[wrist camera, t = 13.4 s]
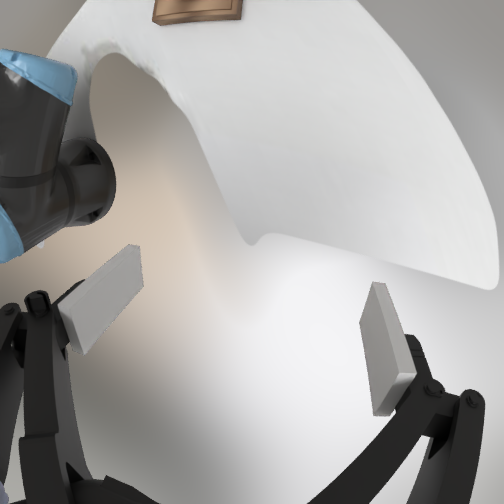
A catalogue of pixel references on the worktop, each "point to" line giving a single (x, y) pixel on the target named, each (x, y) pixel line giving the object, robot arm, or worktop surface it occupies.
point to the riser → (195, 11)
